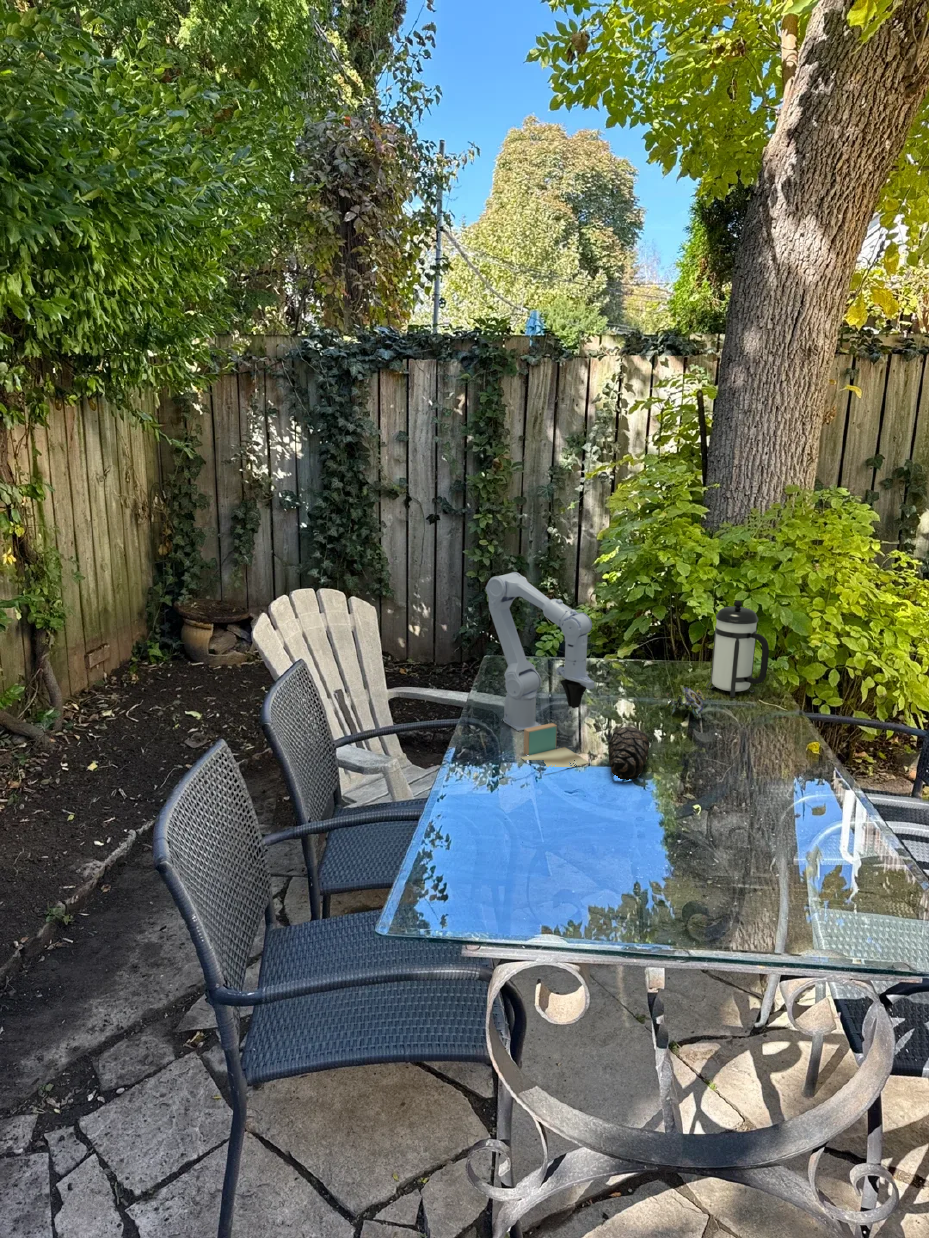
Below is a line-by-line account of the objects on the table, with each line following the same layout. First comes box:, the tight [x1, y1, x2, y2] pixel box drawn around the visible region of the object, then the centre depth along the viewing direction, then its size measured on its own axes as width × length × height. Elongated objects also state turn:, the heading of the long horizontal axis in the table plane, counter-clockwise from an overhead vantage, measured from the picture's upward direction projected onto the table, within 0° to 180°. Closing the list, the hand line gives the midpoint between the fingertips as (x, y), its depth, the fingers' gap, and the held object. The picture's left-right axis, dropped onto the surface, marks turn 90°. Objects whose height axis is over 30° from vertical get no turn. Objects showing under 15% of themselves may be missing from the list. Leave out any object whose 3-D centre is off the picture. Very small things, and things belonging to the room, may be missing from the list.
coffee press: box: [706, 600, 770, 699], centre depth 253 cm, size 17×16×30 cm
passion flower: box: [665, 684, 707, 720], centre depth 235 cm, size 11×11×12 cm
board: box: [520, 746, 591, 768], centre depth 205 cm, size 11×14×1 cm
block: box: [523, 722, 558, 755], centre depth 210 cm, size 2×9×7 cm, turn 118°
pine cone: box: [608, 726, 651, 780], centre depth 199 cm, size 10×18×10 cm, turn 170°
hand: (573, 706), depth 215 cm, fingers closed
